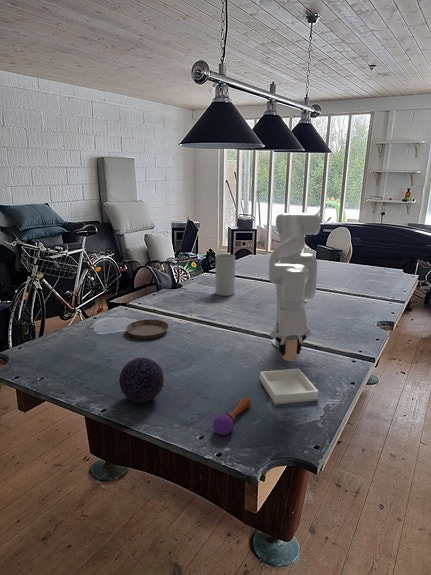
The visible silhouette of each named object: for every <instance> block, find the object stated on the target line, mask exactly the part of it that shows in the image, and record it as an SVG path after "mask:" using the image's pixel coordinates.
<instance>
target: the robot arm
mask: <svg viewBox="0 0 431 575" xmlns="http://www.w3.org/2000/svg"><path fill="white" fill-rule="evenodd" d="M275 228H276V231H277V234H278V237H279V241H280V243H279V245H277V246H276V247H275V248H274V249H273V251H272V253H271V254H270V256H269V260H268V261H269V262H268V280H269V281H270V282H271V283H272V284H274V285H275V292H276V293H275V295H276V315H275V316H276V318H275V327H274V329H273V330H272V331H271V332H270V337H271V338H273V339H271V345H273V346H274V347H275V348H278V352H279V353H280V355H281V357H282V356H284V355H285V345H284V341H285V338H286V337H288V336H298V344H297V355H301V350H302V344H303V343H304V341H305V340H306V339H307V337H309V336H310V335H311V334H312V332H311V331H310V329H309V328H308V327H307V313H306V307H305V305H308V300H313V299H314V298H315V296H316V293H317V279H318V277H317V276H318V260H317V257H316V256H315V254H313V253H308V252H307V253H305V252H304V253H303V252H301V251H303V250H304V248H305V246H306V243H305V242H306V241H305V238H306V237H305V235H306V236H307V235H308V236H312V235H313V236H317V235H318V234H319V233H320V230H321V218H320V216H319V214H318V213H315V212H314V213H313V212H287V213H285V212H284V213H280V214H278V215H277V216H276V218H275Z"/></svg>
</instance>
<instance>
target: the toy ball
mask: <svg viewBox="0 0 431 575" xmlns="http://www.w3.org/2000/svg"><path fill="white" fill-rule="evenodd" d="M164 380H165V378H164V372H163V370H162V368H161V366H160V365H159V364H158V362H156V361H155V360H152V359H151V358H147V357H138V358H134V359H131V360H130V361H129V362H127V363H126V364H125V365H124V367H123V368H122V369H121V372H120V375H119V381H118V382H119V388H120V390H121V393H123V395H124V396H125V397H126V398H127V399H128V400H130V401H132V402H134V403H135V402H136V403H146V402H150V401H152V400H153V399H155V398H157V396H158V395H159V394H160V393H161V391H162V389H163V386H164Z"/></svg>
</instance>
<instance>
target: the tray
mask: <svg viewBox="0 0 431 575" xmlns="http://www.w3.org/2000/svg"><path fill="white" fill-rule="evenodd" d="M259 381H260V383H261V384H262V386H263V388H264V389H265V391H266V392H267V395H269V397H270V399H271V401H272V402H273V404H274V405H275V406H276V405H286V404H296V403H304V402H315V401H316V402H317V401H318V400H319V390H318V388H316V387H315V385H314V384H313V383H312V382H311V381H310V380H309V378H308V377H307V376H306V375H305V374H304V372H303V371H302V370H301V369H300V367H299V368H289V369H279V370H277V369H276V370H265V371H264V370H263V371H260V372H259Z"/></svg>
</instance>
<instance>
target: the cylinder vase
mask: <svg viewBox="0 0 431 575" xmlns="http://www.w3.org/2000/svg"><path fill="white" fill-rule="evenodd" d="M235 280H236V255H234V254H230V253H221V254H216V255H215V287H214V288H215V292H214V293H215V294H216V295H217V296H223V297H226V296H227V297H228V296H229V297H230V296H233V295H234V294H235V291H236V290H235V288H236V286H235V284H236V282H235Z"/></svg>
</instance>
